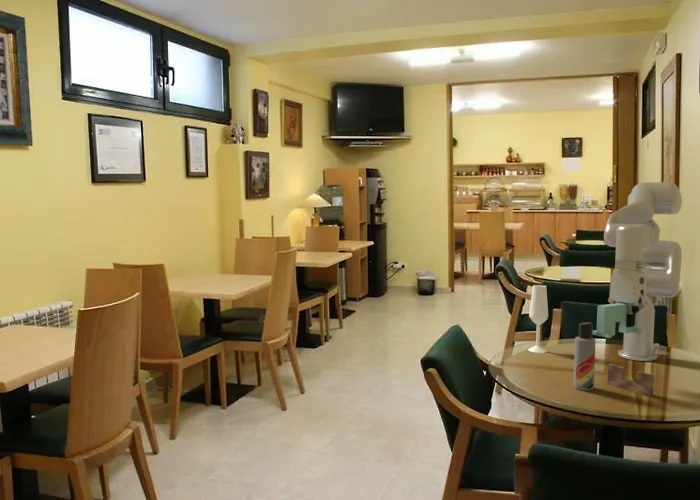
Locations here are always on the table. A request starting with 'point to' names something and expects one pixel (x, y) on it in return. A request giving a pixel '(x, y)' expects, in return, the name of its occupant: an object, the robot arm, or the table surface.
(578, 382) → the lotion bottle
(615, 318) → the teal notched bracket
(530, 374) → the table surface
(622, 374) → the brown u-shaped block
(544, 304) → the champagne flute
